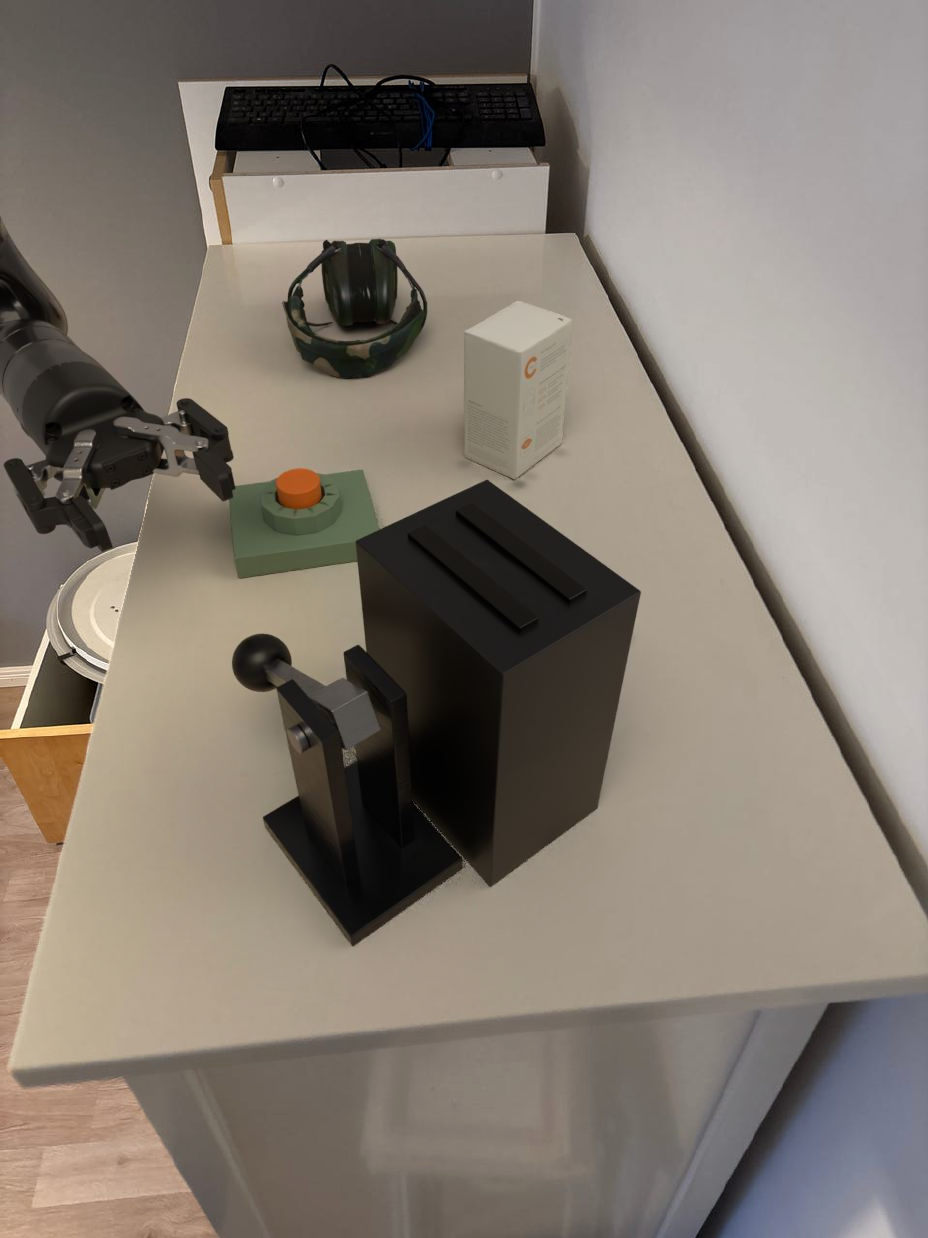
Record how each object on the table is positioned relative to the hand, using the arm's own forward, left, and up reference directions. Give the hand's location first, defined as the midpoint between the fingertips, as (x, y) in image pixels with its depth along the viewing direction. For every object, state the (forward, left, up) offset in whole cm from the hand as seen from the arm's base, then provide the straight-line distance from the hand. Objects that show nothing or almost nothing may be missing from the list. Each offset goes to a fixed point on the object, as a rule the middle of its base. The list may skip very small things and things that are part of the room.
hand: (167, 513), depth 58 cm
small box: (+30, +21, -13) cm, 39 cm away
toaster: (+17, -16, -13) cm, 27 cm away
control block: (+9, +13, -13) cm, 20 cm away
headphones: (+19, +47, -13) cm, 52 cm away
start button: (+9, +13, -9) cm, 18 cm away
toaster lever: (+7, -15, -4) cm, 17 cm away
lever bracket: (+9, -19, -13) cm, 25 cm away
